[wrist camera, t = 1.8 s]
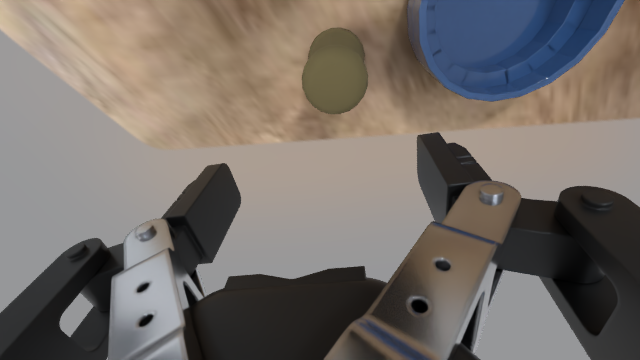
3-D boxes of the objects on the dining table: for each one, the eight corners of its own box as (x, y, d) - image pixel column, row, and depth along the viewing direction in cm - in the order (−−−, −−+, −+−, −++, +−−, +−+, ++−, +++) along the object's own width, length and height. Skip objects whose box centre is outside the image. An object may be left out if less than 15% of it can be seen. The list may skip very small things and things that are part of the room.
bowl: (401, -79, 24) (416, -97, 19) (606, -138, 21) (679, -175, 17) (409, 97, 32) (421, 114, 27) (559, 69, 29) (600, 82, 25)
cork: (358, 91, 32) (366, 130, 22) (305, 84, 32) (291, 119, 22) (370, 31, 28) (384, 48, 19) (311, 23, 28) (296, 36, 19)
